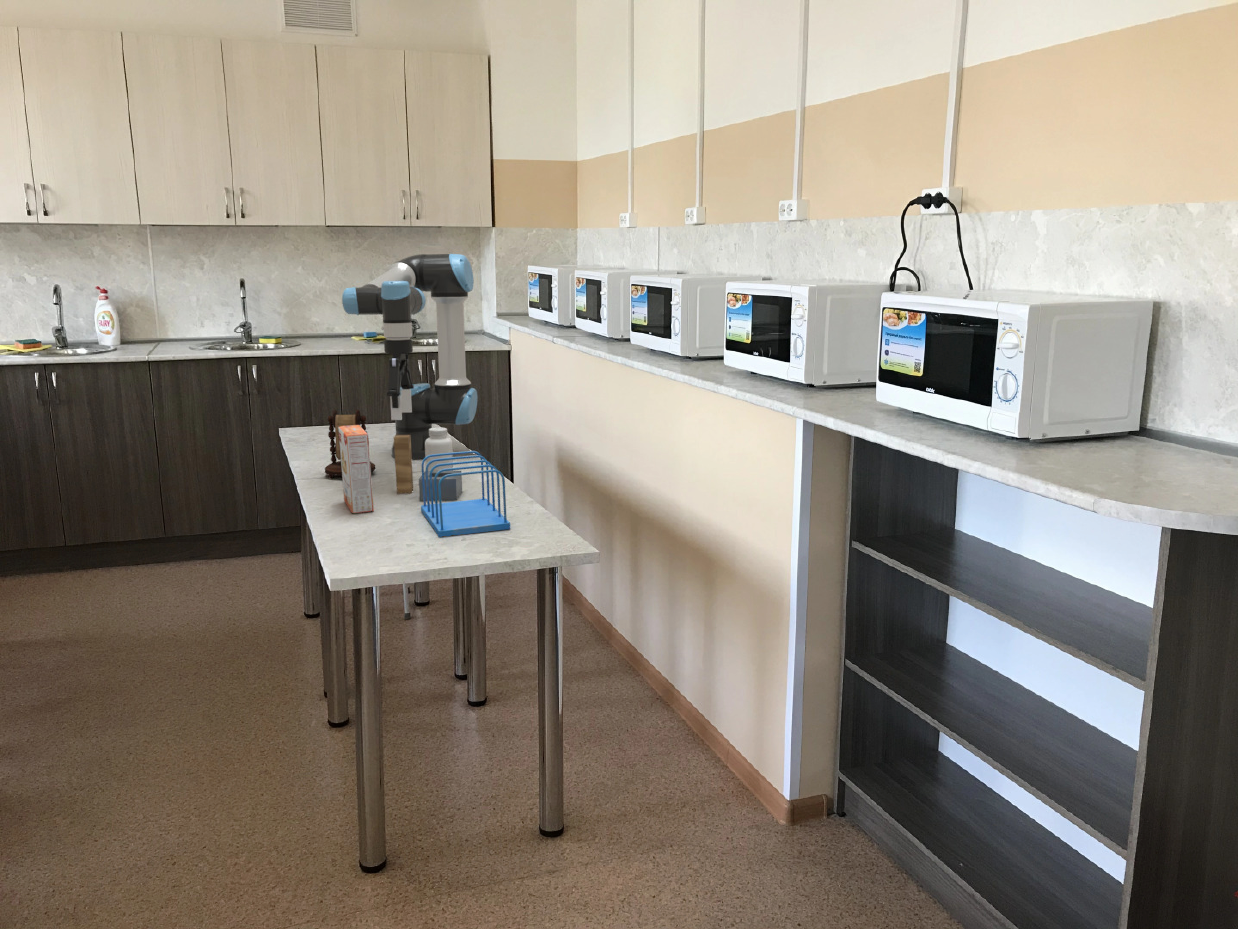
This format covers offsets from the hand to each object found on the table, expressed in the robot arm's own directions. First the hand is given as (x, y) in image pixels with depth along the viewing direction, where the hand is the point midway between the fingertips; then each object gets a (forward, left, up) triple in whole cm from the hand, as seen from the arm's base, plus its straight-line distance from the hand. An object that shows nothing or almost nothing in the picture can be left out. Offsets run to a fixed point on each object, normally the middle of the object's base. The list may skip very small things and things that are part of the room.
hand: (401, 416), depth 272 cm
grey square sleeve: (+5, +11, -22) cm, 25 cm away
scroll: (-22, -21, -22) cm, 37 cm away
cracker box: (+16, -9, -22) cm, 29 cm away
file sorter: (+30, +21, -22) cm, 43 cm away
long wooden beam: (0, 0, -22) cm, 22 cm away
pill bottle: (-16, +7, -22) cm, 28 cm away
